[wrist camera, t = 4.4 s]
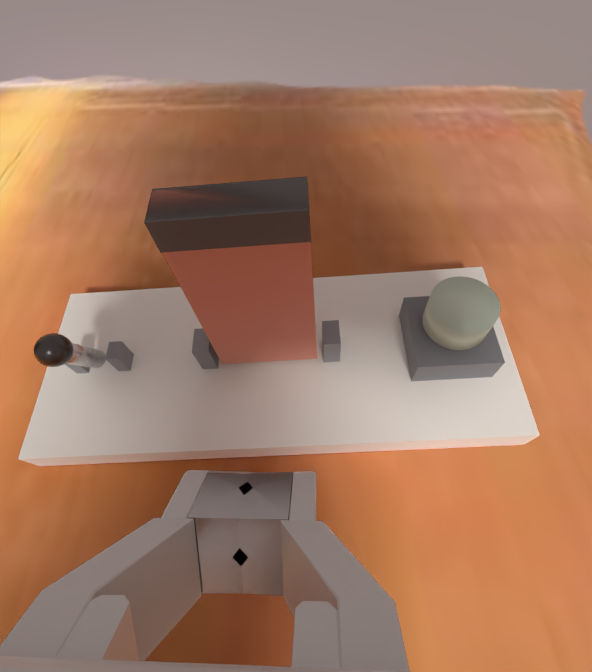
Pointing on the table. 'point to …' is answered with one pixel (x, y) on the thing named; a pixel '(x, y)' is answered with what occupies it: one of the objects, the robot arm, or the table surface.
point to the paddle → (242, 264)
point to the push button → (460, 313)
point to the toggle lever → (66, 352)
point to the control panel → (275, 382)
